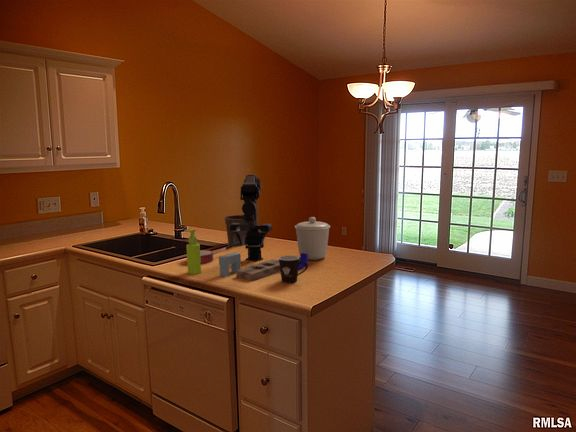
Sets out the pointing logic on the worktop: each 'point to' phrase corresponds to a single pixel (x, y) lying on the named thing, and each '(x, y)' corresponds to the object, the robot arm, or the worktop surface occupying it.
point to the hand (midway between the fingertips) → (251, 246)
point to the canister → (312, 238)
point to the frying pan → (207, 255)
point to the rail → (259, 270)
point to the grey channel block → (229, 259)
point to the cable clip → (303, 259)
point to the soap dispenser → (193, 254)
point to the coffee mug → (289, 268)
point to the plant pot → (231, 236)
